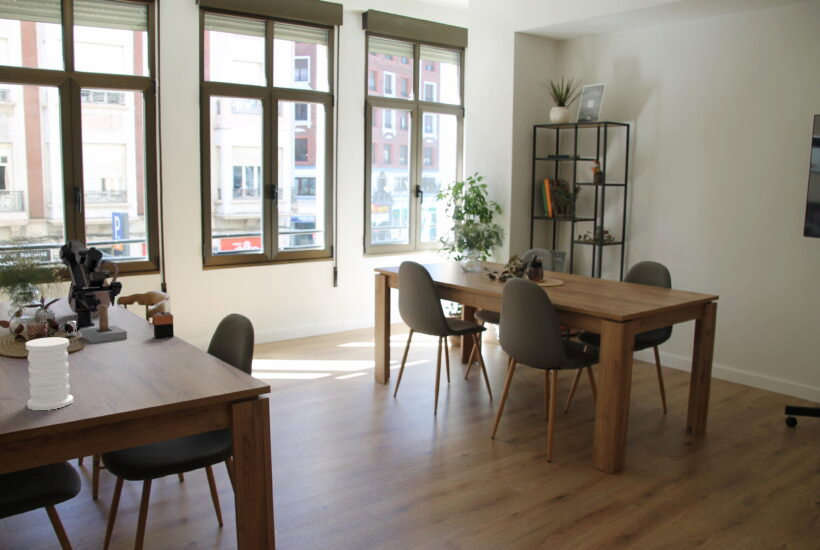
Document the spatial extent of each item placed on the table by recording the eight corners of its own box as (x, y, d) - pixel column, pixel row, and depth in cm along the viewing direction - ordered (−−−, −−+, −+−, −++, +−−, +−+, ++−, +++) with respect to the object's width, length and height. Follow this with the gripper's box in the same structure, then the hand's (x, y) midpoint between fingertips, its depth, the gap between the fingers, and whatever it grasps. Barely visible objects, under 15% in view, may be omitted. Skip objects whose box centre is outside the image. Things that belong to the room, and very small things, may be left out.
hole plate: (81, 337, 278) (81, 329, 278) (115, 332, 287) (115, 325, 287) (92, 343, 269) (92, 335, 268) (127, 338, 277) (126, 331, 277)
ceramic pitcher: (71, 312, 325) (70, 258, 322) (121, 311, 331) (120, 257, 328) (65, 319, 309) (63, 262, 305) (117, 317, 315) (116, 262, 312)
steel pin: (66, 336, 280) (66, 321, 279) (75, 335, 282) (74, 320, 281) (69, 337, 277) (68, 322, 276) (77, 336, 279) (77, 321, 278)
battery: (173, 337, 281) (173, 312, 280) (156, 339, 278) (155, 314, 276) (171, 335, 285) (170, 310, 284) (153, 336, 282) (153, 312, 280)
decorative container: (31, 413, 192) (27, 348, 189) (24, 401, 201) (20, 340, 198) (77, 406, 198) (74, 343, 196) (69, 395, 208) (66, 335, 205)
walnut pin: (98, 338, 277) (96, 305, 275) (103, 336, 280) (102, 304, 278) (104, 339, 276) (103, 306, 274) (110, 337, 279) (109, 305, 277)
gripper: (70, 264, 274) (79, 297, 267) (120, 261, 286) (129, 292, 279) (65, 281, 281) (74, 314, 274) (114, 278, 293) (124, 309, 286)
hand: (101, 307), depth 278 cm, fingers open, 9 cm apart
